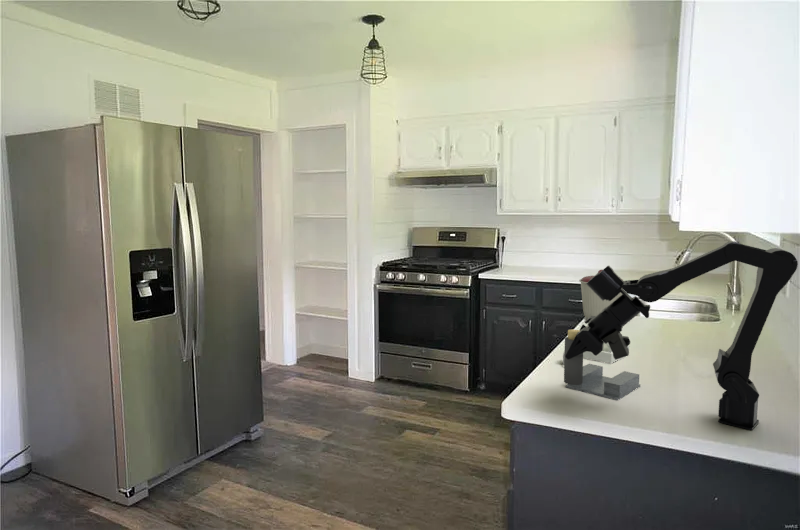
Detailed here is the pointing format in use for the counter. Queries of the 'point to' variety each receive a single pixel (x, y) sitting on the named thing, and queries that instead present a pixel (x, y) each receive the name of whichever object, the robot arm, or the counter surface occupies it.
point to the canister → (593, 299)
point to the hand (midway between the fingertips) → (567, 355)
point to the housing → (606, 382)
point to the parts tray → (602, 356)
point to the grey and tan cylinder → (573, 362)
